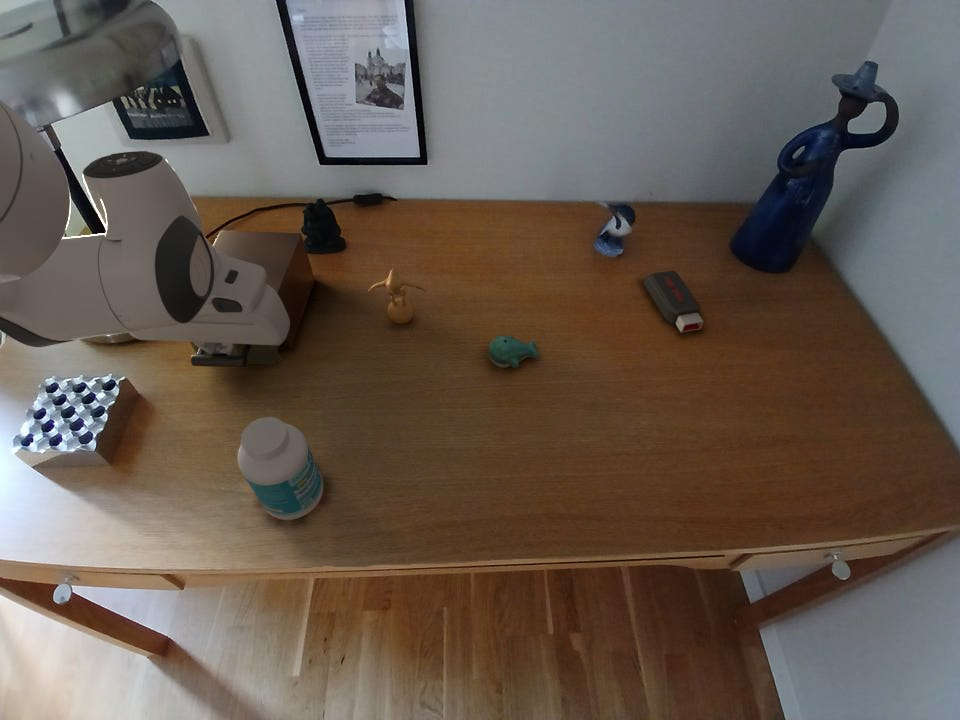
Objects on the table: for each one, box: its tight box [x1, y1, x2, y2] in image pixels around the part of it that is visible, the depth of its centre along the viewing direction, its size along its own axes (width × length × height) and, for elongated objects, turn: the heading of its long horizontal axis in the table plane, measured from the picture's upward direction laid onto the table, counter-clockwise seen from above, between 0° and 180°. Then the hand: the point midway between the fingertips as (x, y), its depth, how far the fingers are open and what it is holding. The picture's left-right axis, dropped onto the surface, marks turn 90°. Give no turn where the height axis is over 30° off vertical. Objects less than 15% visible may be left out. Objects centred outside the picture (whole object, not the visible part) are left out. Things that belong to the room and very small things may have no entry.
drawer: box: [189, 342, 281, 369], centre depth 81 cm, size 19×11×8 cm, turn 177°
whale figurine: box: [488, 334, 540, 368], centre depth 82 cm, size 6×7×4 cm
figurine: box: [367, 268, 426, 324], centre depth 83 cm, size 8×6×12 cm
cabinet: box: [212, 229, 316, 350], centre depth 85 cm, size 16×13×10 cm
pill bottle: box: [236, 416, 324, 521], centre depth 64 cm, size 8×7×14 cm
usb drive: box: [643, 270, 704, 333], centre depth 90 cm, size 5×12×3 cm, turn 13°
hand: (225, 356), depth 77 cm, fingers closed
